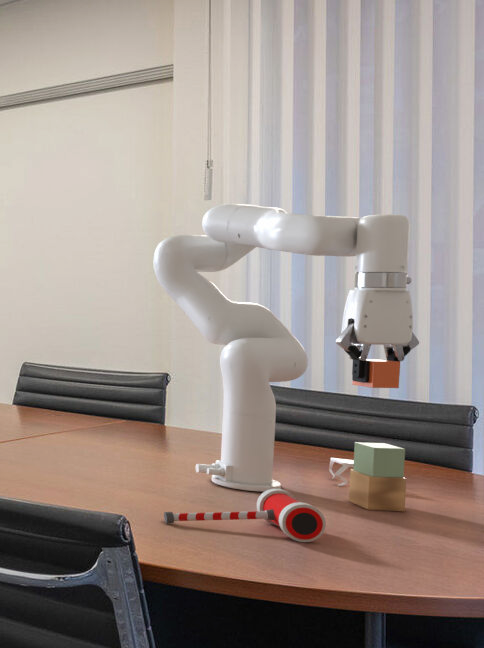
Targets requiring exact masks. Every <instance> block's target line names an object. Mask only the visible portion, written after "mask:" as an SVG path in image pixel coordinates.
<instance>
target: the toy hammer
mask: <svg viewBox="0 0 484 648" xmlns="http://www.w3.org/2000/svg"><path fill="white" fill-rule="evenodd" d="M163 518H164V519H163V520H164V522H165V524H174V522H195V521H197V522H199V521H201V522H203V521H237V520H239V521H240V520H264V521H266V522H267V523H268V524H271V525H273V526H278V527H279V528H280V530H281V531H282V532H283V534H284V535H286V536H287V537H288V538H290V539H292V540H293V541H295V542H299V543H310V542H314V541H316V540H318V539H319V538H320V537H321V536H322V535H323V534H324V532H325V531H326V525H327V523H326V519H325V516H324V514H323V513H322V511H320V510H319V509H318V508H317V507H315V506H313V505H311V504H310V503H307V502H302V501H299V499H298V498H297V497H296V496H294V494H292V493H290V492H289V491H287V490H285V489H282V488H281V489H269V490H267V491H265V492H262V493H261V494H260V495H259V496H258V498H257V501H256V511H255V510H253V511H225V512H224V511H218V512H217V511H216V512H215V511H213V512H184V513H183V512H181V513H173V511H164V512H163Z"/></svg>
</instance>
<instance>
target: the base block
mask: <svg viewBox="0 0 484 648" xmlns="http://www.w3.org/2000/svg"><path fill="white" fill-rule="evenodd" d="M348 486H349V487H348V489H349V490H348V502H350V503H353V504H355V505H356V506H359V507H361V508H364V509H365V510H369V511H386V512H387V511H389V512H406V511H405V510H406V495H407V477H403V478H400V477H372V476H369V475H366V474H363V473H360V472H357V471H354V470H353V469H350V471H349V485H348Z"/></svg>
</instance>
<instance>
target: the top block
mask: <svg viewBox="0 0 484 648" xmlns="http://www.w3.org/2000/svg"><path fill="white" fill-rule="evenodd" d="M366 361H370V368H369V382H368V383H363V382H356V381H353V380H352V385H353V386H359V387H364V388H371V389H399V388H400V376H399V374H400V373H401V361H400V362H398V361H389V360H387V359H380V358H378V359H377V358H367V359H366ZM400 375H401V374H400Z"/></svg>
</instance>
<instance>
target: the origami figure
mask: <svg viewBox="0 0 484 648" xmlns="http://www.w3.org/2000/svg"><path fill="white" fill-rule="evenodd" d="M335 463H336V464H340V465H341V467H339V469H337V470H336V471H335V472H334V471H333V466H334V464H335ZM353 465H354V459H347V458H337V457H330V461H329V465H328V466H329V467H328V471H329V473H330V474H331V475H332V478H331V480H335V478H336V477H337V478H338V479H340V480H341V481H342V482H341V483H338V484H337V486H338V487H339V486H340V487H342V486H344V485H347V484H348V483H349V481H348V480H347V479H346V478H345V477H344V476H342V474H343V473H344V472H345V471H346V470H347V469H348V468H353Z"/></svg>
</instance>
